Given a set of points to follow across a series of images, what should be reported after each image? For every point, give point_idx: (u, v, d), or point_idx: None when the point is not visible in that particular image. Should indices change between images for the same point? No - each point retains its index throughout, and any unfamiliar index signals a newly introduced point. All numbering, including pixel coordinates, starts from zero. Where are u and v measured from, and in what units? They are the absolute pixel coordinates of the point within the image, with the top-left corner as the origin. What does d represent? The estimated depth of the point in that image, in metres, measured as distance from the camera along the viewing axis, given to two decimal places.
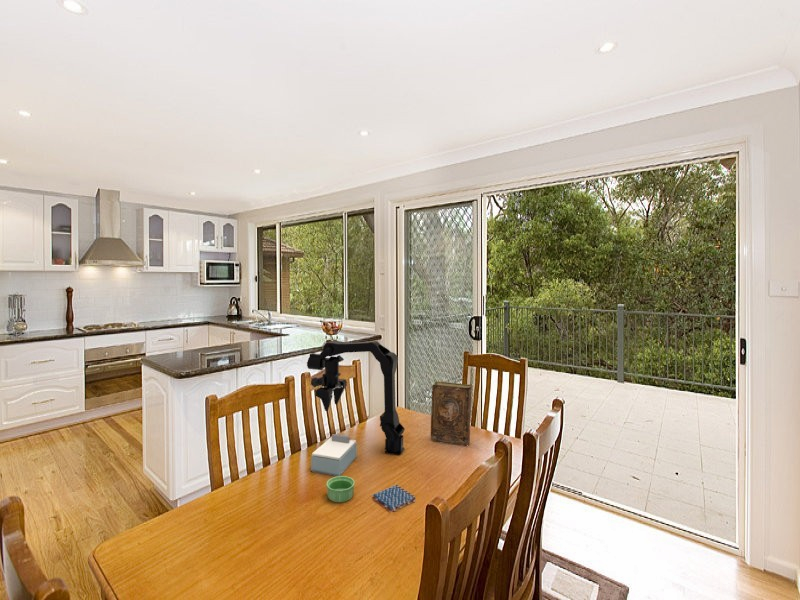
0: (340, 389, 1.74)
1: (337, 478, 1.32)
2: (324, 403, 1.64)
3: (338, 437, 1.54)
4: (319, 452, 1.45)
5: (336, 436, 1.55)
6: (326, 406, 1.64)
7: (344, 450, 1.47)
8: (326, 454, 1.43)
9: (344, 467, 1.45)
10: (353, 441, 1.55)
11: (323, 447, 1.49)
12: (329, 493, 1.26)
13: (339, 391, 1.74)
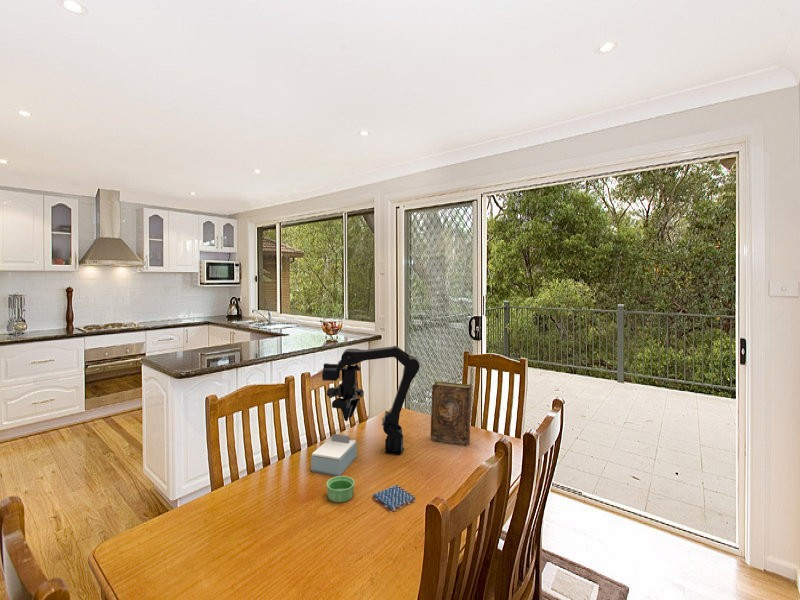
0: (355, 401, 1.63)
1: (337, 478, 1.32)
2: (344, 413, 1.58)
3: (338, 437, 1.54)
4: (319, 452, 1.45)
5: (336, 436, 1.55)
6: (346, 416, 1.58)
7: (344, 450, 1.47)
8: (326, 454, 1.43)
9: (344, 467, 1.45)
10: (353, 441, 1.55)
11: (323, 447, 1.49)
12: (329, 493, 1.26)
13: (353, 403, 1.63)
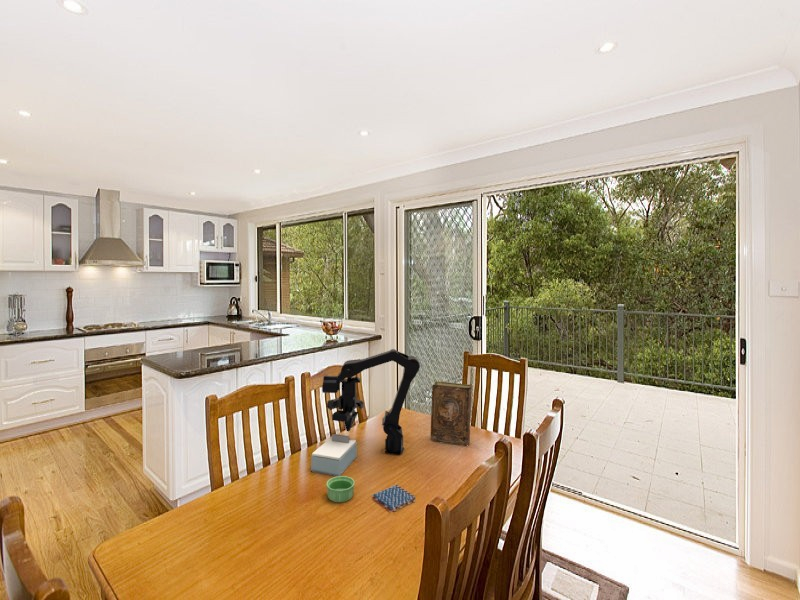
0: (353, 414, 1.61)
1: (337, 478, 1.32)
2: (345, 424, 1.60)
3: (338, 437, 1.54)
4: (319, 452, 1.45)
5: (336, 436, 1.55)
6: (348, 426, 1.60)
7: (344, 450, 1.47)
8: (326, 454, 1.43)
9: (344, 467, 1.45)
10: (353, 441, 1.55)
11: (323, 447, 1.49)
12: (329, 493, 1.26)
13: None
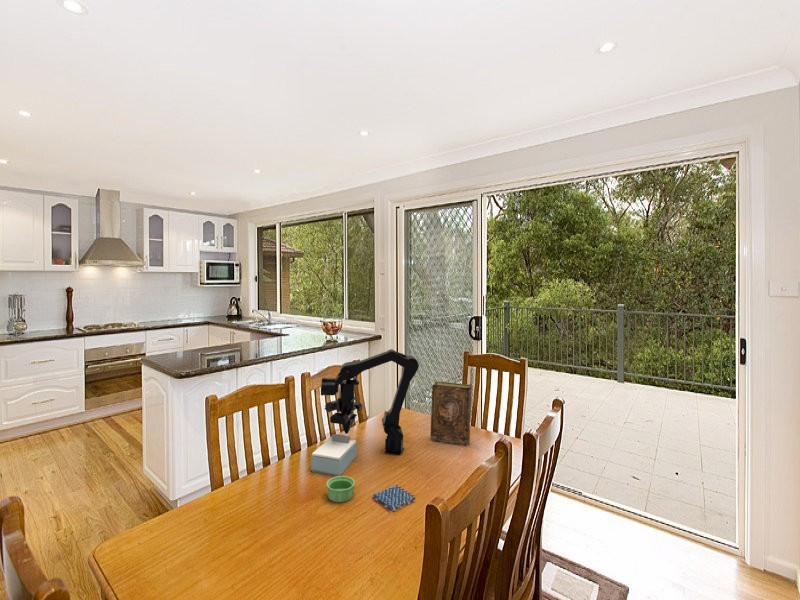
0: (351, 417, 1.60)
1: (337, 478, 1.32)
2: (344, 426, 1.59)
3: (338, 437, 1.54)
4: (319, 452, 1.45)
5: (336, 436, 1.55)
6: (346, 429, 1.59)
7: (344, 450, 1.47)
8: (326, 454, 1.43)
9: (344, 467, 1.45)
10: (353, 441, 1.55)
11: (323, 447, 1.49)
12: (329, 493, 1.26)
13: None
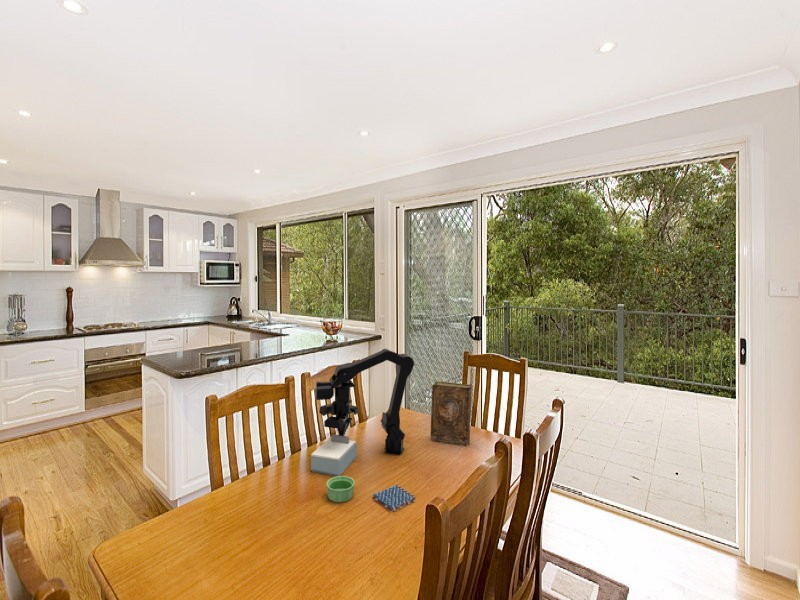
0: (346, 421, 1.56)
1: (337, 478, 1.32)
2: (339, 430, 1.54)
3: (338, 438, 1.54)
4: (318, 453, 1.44)
5: (335, 437, 1.54)
6: (341, 433, 1.55)
7: (343, 451, 1.47)
8: (325, 455, 1.43)
9: (344, 467, 1.45)
10: (352, 442, 1.55)
11: (322, 448, 1.49)
12: (329, 493, 1.26)
13: None
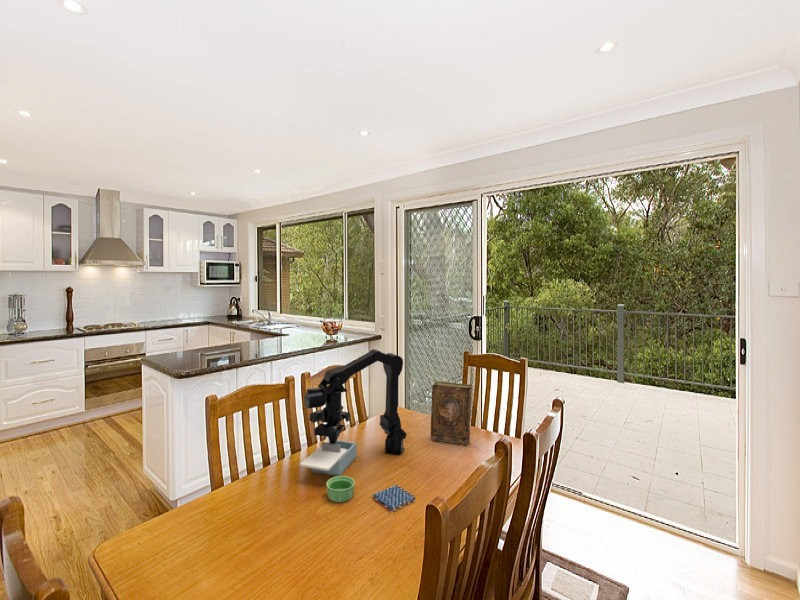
0: (338, 428, 1.48)
1: (337, 478, 1.32)
2: (330, 438, 1.47)
3: (328, 446, 1.46)
4: (307, 462, 1.37)
5: (326, 445, 1.46)
6: (332, 441, 1.47)
7: (334, 460, 1.39)
8: (315, 465, 1.35)
9: (344, 467, 1.45)
10: (344, 450, 1.47)
11: (312, 457, 1.41)
12: (329, 493, 1.26)
13: None
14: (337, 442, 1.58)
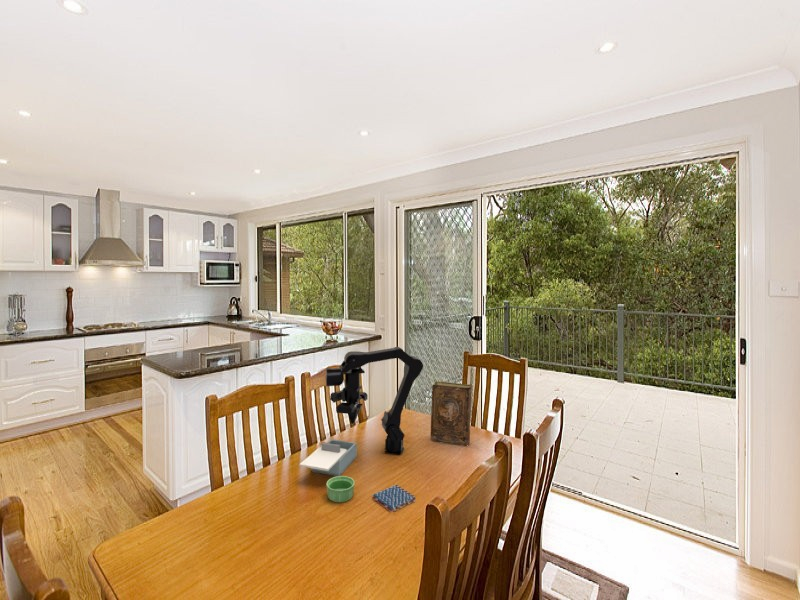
0: None
1: (337, 478, 1.32)
2: (350, 416, 1.56)
3: (328, 446, 1.46)
4: (307, 463, 1.37)
5: (326, 445, 1.46)
6: (352, 419, 1.56)
7: (334, 460, 1.39)
8: (314, 465, 1.35)
9: (344, 467, 1.45)
10: (344, 450, 1.47)
11: (312, 457, 1.41)
12: (329, 493, 1.26)
13: None
14: (337, 442, 1.58)
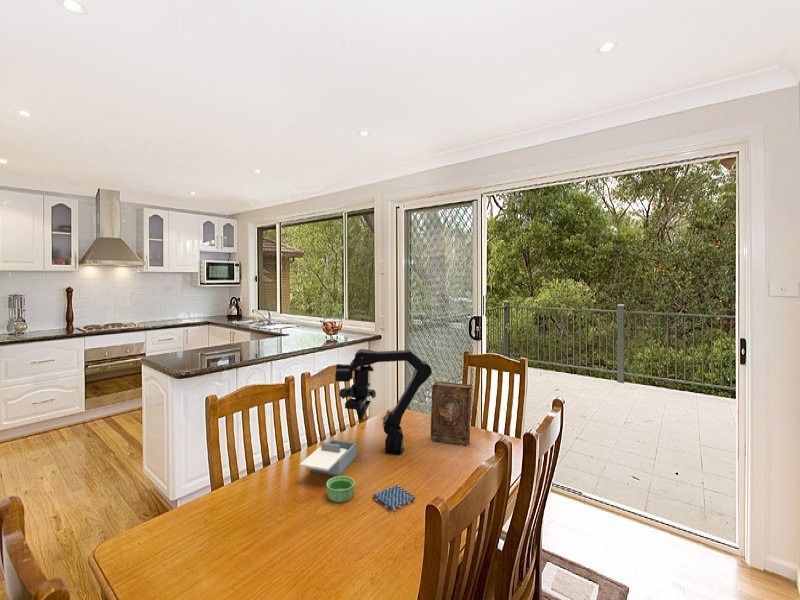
0: (365, 403, 1.60)
1: (337, 478, 1.32)
2: (358, 412, 1.59)
3: (328, 446, 1.46)
4: (307, 463, 1.37)
5: (326, 445, 1.46)
6: (360, 415, 1.59)
7: (334, 460, 1.39)
8: (314, 465, 1.35)
9: (344, 467, 1.45)
10: (344, 450, 1.47)
11: (312, 457, 1.41)
12: (329, 493, 1.26)
13: None
14: (337, 442, 1.58)
